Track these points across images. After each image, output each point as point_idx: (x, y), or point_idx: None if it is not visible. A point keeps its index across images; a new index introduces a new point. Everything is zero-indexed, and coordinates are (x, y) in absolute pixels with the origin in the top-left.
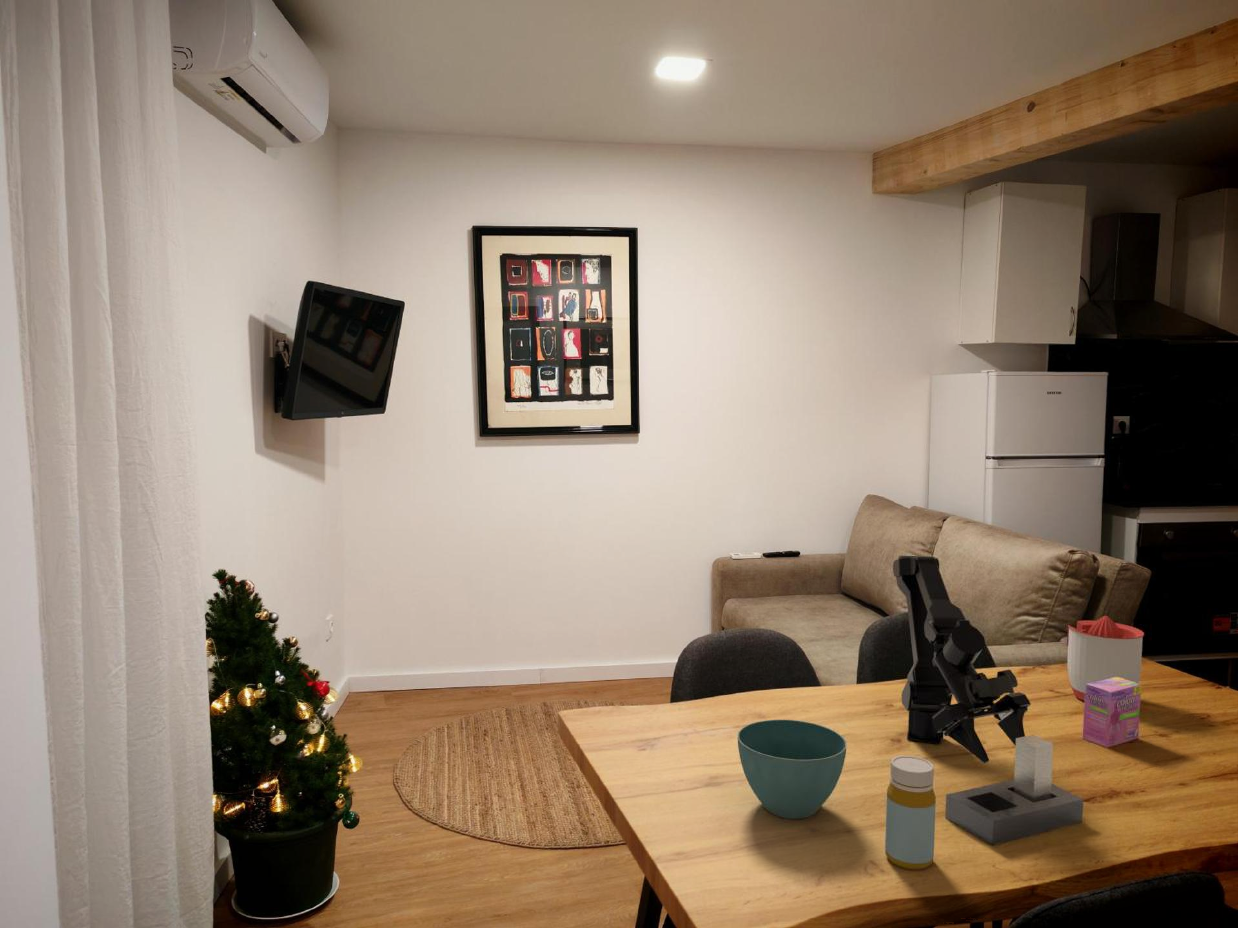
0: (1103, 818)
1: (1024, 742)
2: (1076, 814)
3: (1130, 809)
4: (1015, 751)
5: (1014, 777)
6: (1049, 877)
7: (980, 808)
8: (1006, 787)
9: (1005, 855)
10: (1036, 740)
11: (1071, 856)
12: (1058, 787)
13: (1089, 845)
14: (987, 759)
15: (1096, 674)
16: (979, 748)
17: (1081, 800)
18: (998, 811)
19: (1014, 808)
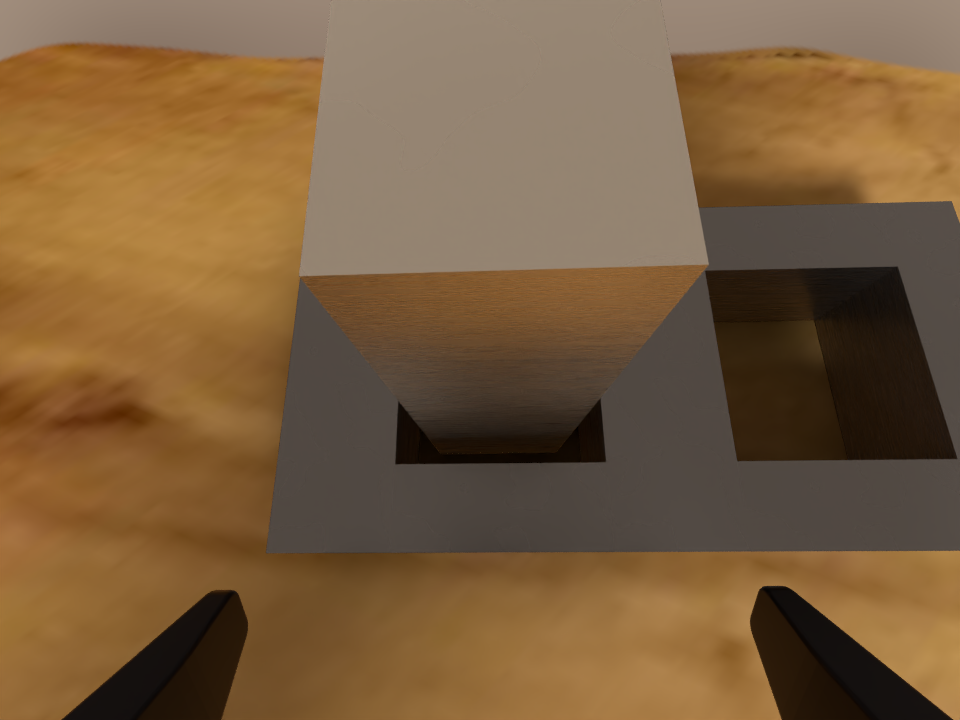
0: (235, 270)
1: (678, 129)
2: None
3: (57, 284)
4: (643, 343)
5: (585, 414)
6: (789, 68)
7: (940, 324)
8: (593, 474)
9: (851, 201)
10: (457, 110)
11: None
12: (297, 354)
13: None
14: (788, 590)
15: None
16: (937, 712)
17: None
18: (855, 265)
19: (742, 262)
